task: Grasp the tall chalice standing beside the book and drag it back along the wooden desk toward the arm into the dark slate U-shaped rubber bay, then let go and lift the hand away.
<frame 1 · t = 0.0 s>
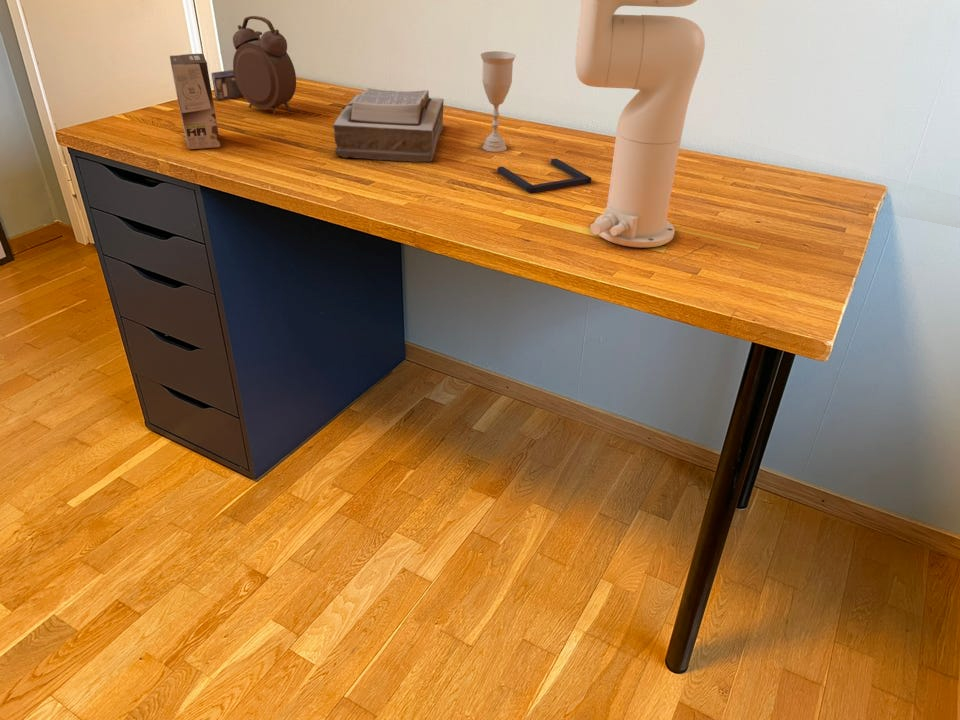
mini dv tape: (233, 98, 178), on the table
coffee box: (203, 143, 149), on the table
alarm clock: (270, 111, 169), on the table
chalice: (494, 148, 151), on the table
bay: (540, 175, 138), on the table
bible: (392, 142, 153), on the table
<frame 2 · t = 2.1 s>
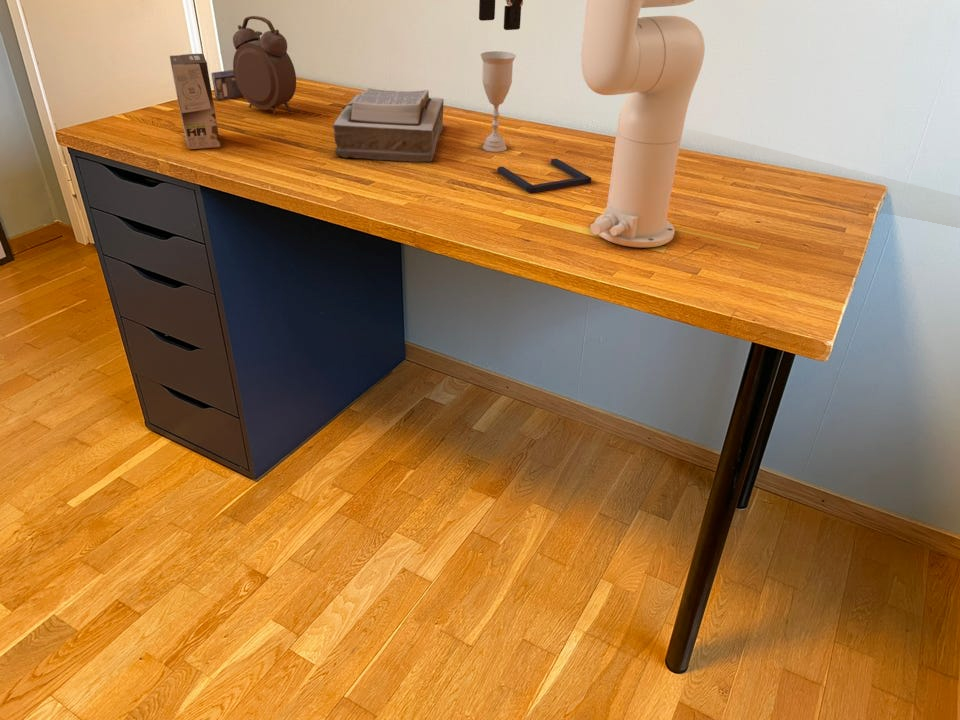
hand: (498, 24, 139), 23 cm above the table, tool pointing down, fingers open, 9 cm apart
nothing on the table moved.
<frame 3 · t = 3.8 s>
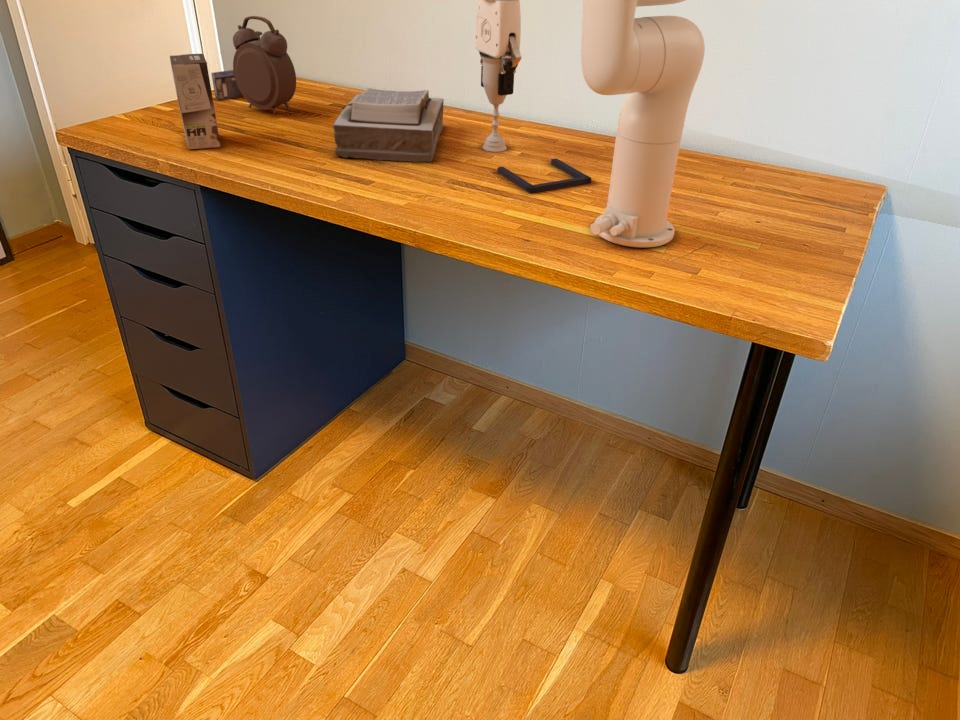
hand: (496, 89, 145), 12 cm above the table, tool pointing down, fingers closed on chalice, 6 cm apart
chalice: (494, 148, 151), on the table, touching gripper
everything else where it was.
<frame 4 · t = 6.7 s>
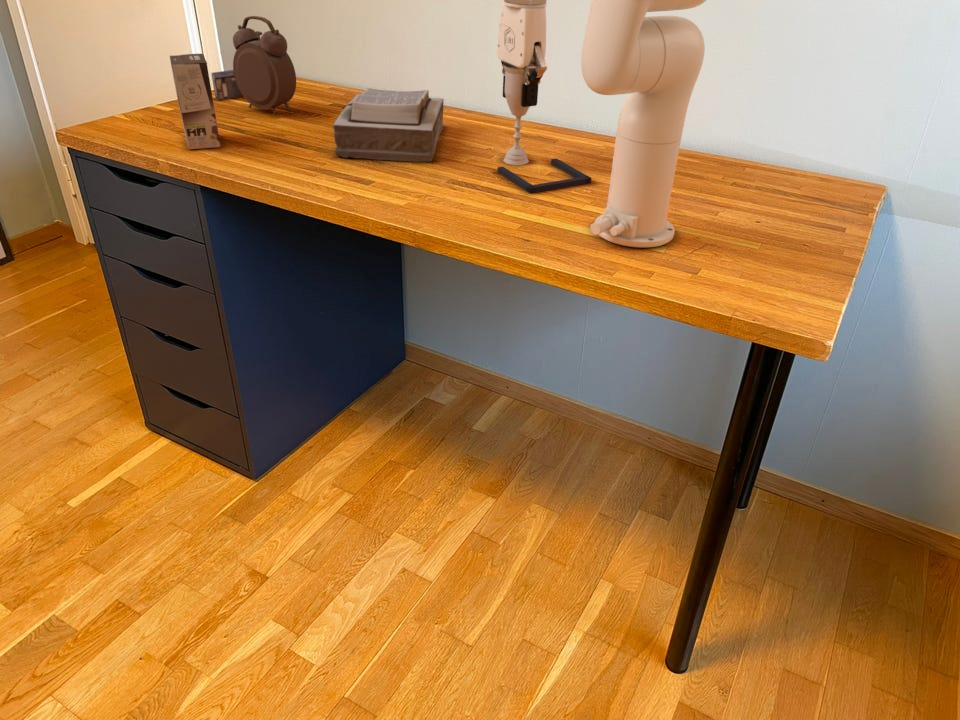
hand: (519, 100, 138), 12 cm above the table, tool pointing down, fingers closed on chalice, 6 cm apart
chalice: (515, 161, 145), on the table, touching gripper
everything else where it was.
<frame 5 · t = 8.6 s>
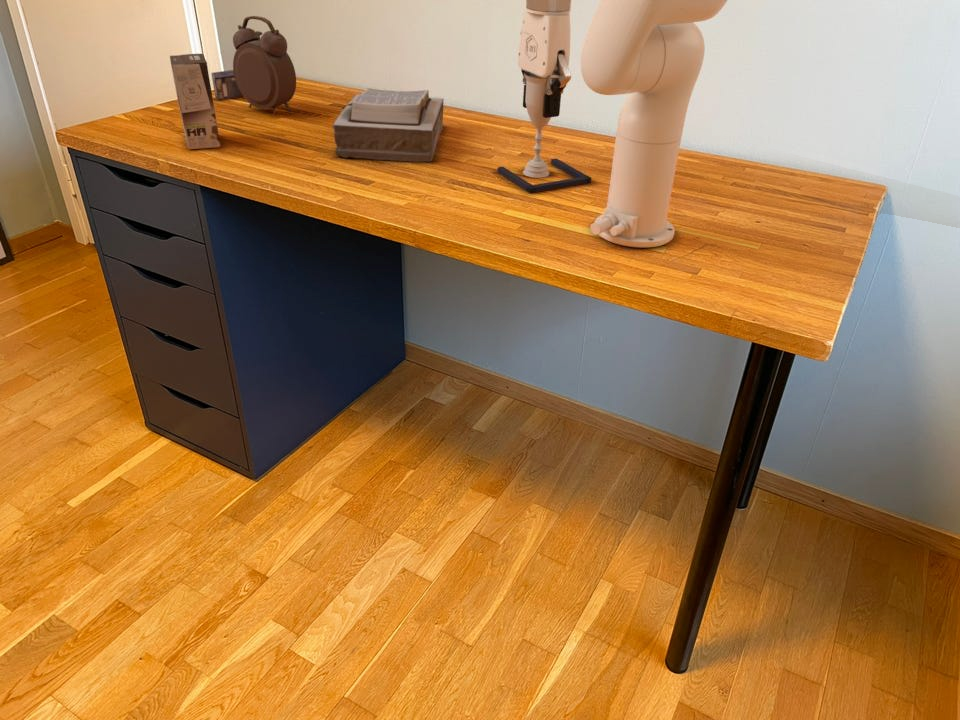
hand: (540, 110, 133), 12 cm above the table, tool pointing down, fingers closed on chalice, 6 cm apart
chalice: (536, 174, 139), on the table, touching gripper
everything else where it was.
when the fingers open (12 cm above the table, at t = 9.7 s): chalice stays where it is, on the table.
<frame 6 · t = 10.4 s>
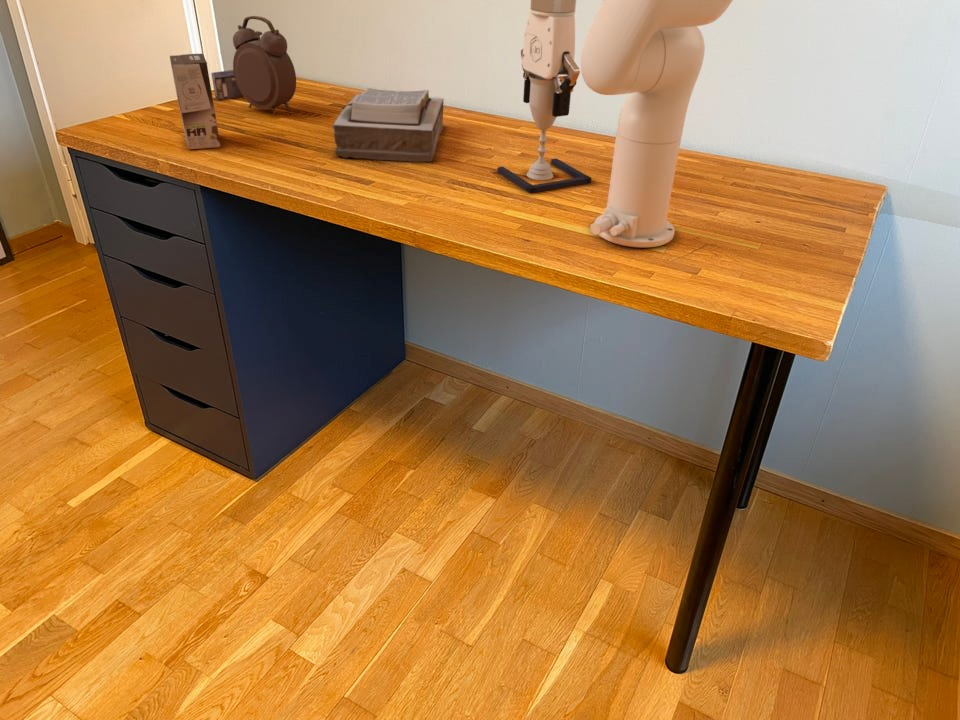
hand: (545, 108, 131), 12 cm above the table, tool pointing down, fingers open, 9 cm apart
chalice: (539, 176, 138), on the table
everything else where it was.
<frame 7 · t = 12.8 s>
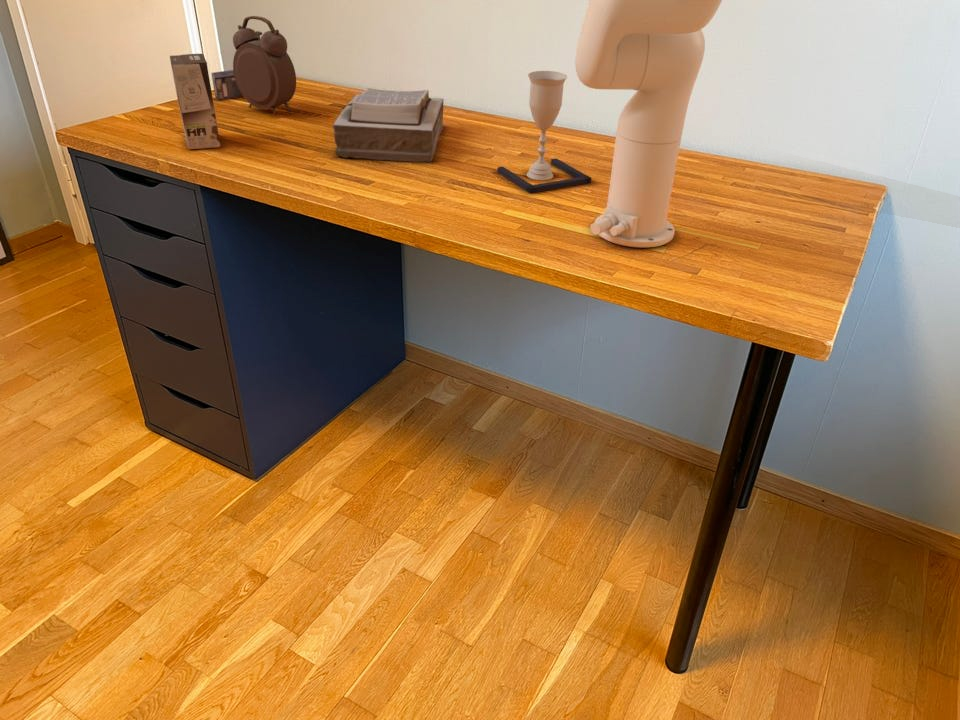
hand: (614, 1, 125), 30 cm above the table, tool pointing down, fingers open, 9 cm apart
nothing on the table moved.
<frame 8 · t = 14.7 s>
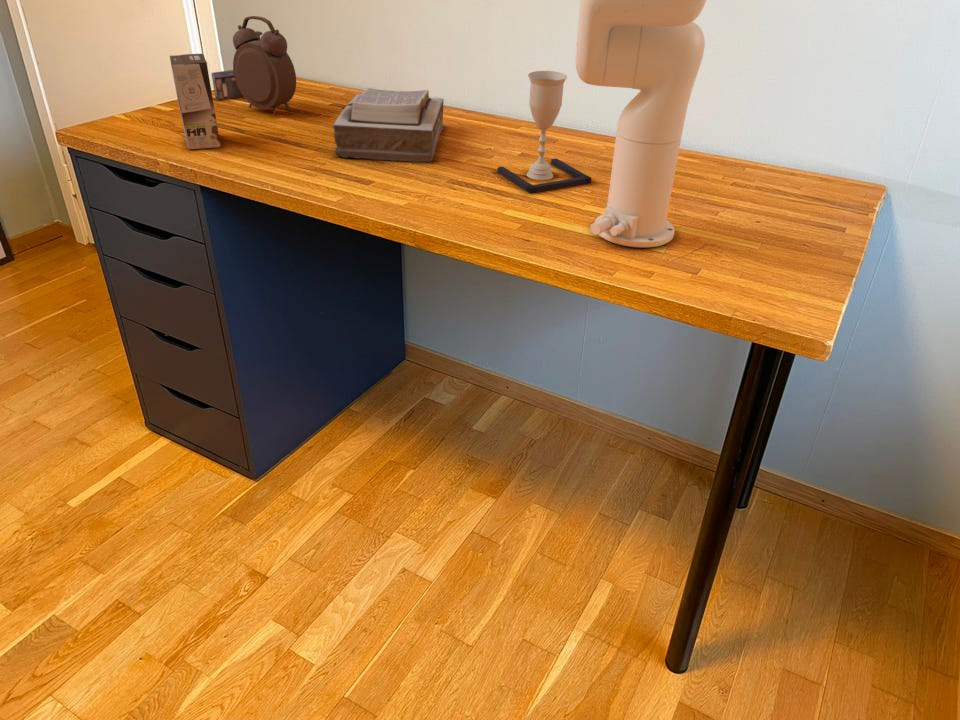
nothing on the table moved.
at the end: chalice 0.0 cm off-centre on the bay, point 0.0 cm above the bay's base; chalice tilted 0°; the gripper is holding nothing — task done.
